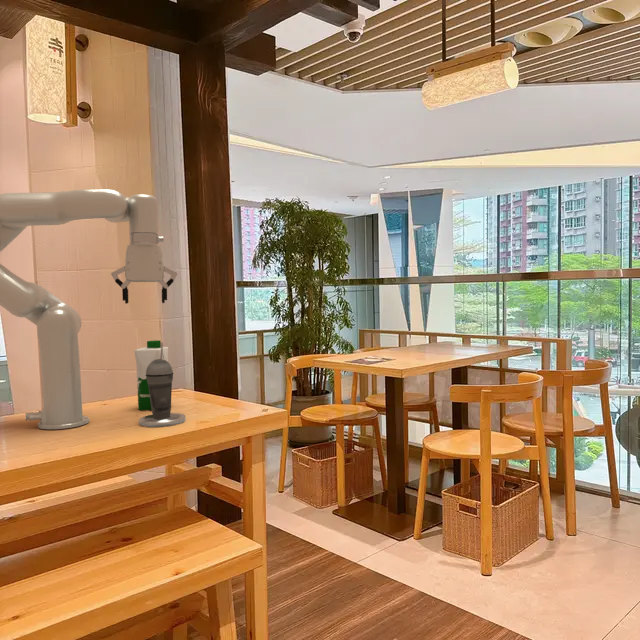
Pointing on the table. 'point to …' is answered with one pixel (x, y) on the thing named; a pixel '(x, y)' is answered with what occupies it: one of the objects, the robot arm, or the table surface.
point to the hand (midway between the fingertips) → (145, 303)
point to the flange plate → (162, 420)
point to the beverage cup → (160, 387)
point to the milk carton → (142, 362)
